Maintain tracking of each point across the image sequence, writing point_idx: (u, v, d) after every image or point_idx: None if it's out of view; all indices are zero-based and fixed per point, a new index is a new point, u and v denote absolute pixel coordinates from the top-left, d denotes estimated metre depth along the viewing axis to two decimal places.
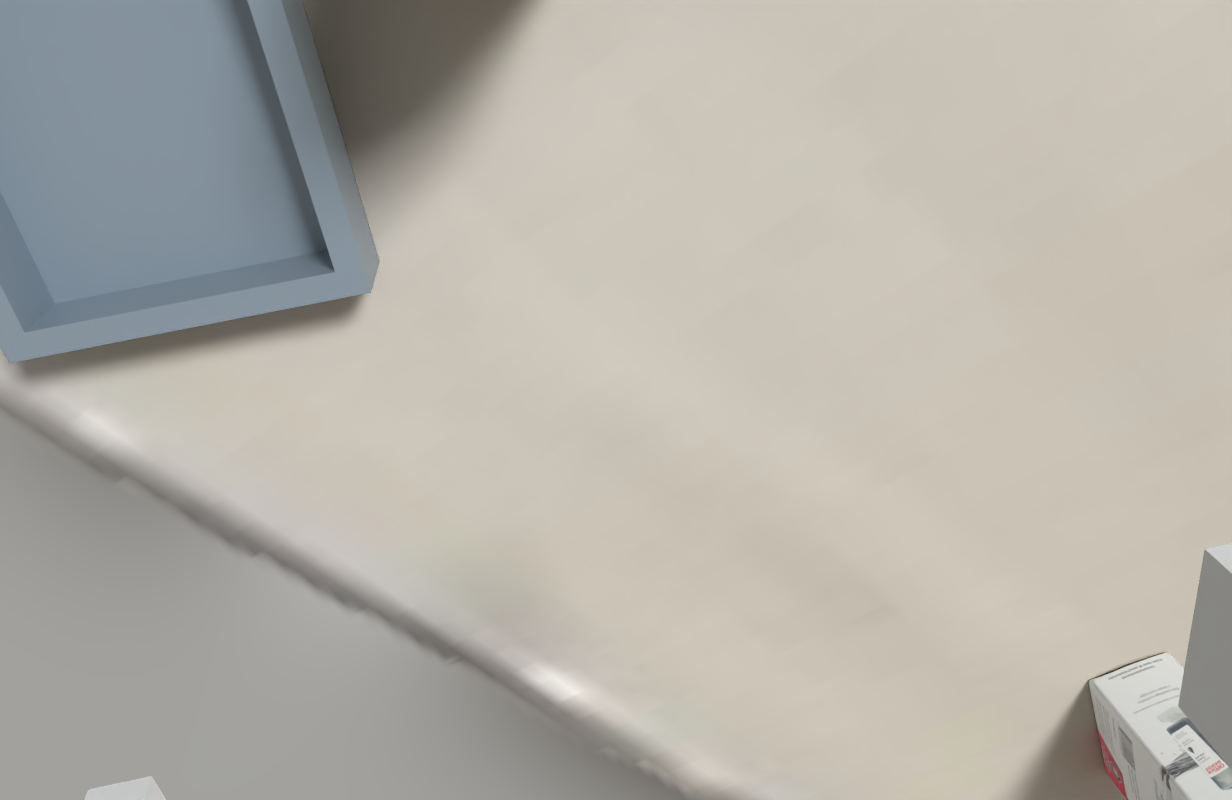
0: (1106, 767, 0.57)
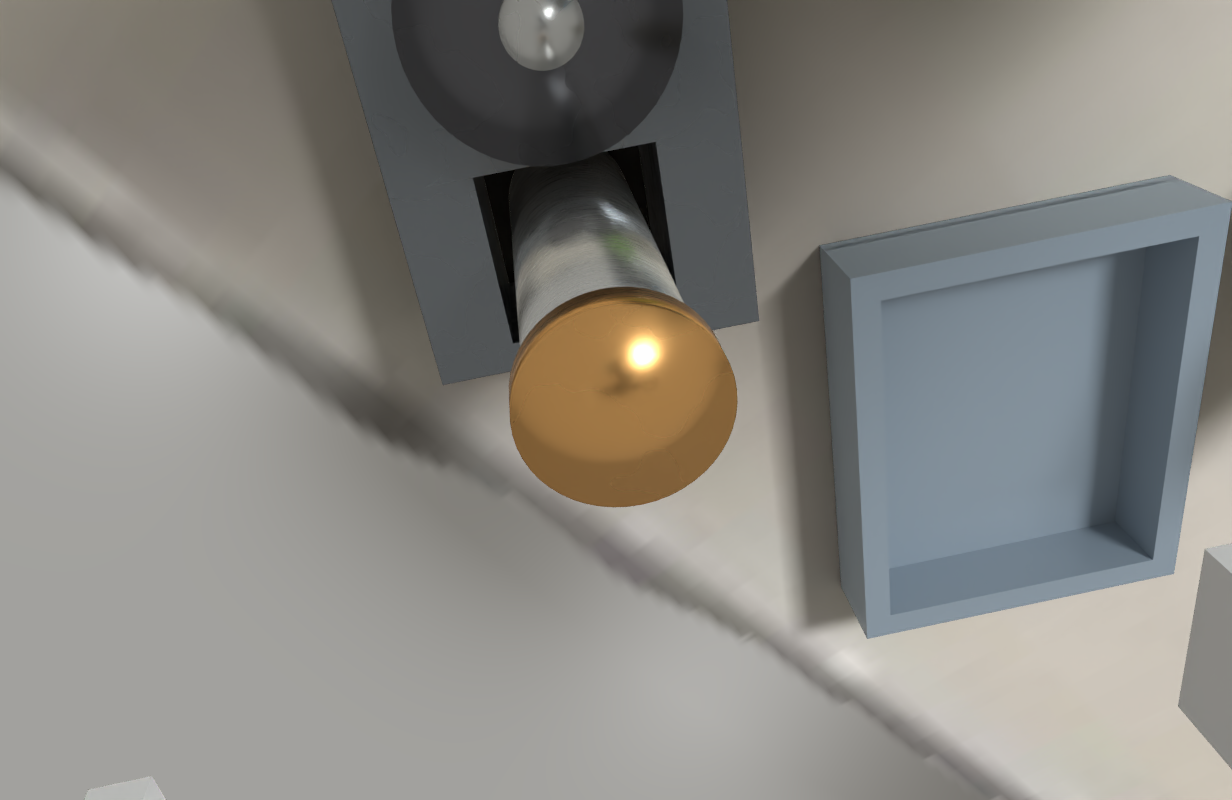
0: None
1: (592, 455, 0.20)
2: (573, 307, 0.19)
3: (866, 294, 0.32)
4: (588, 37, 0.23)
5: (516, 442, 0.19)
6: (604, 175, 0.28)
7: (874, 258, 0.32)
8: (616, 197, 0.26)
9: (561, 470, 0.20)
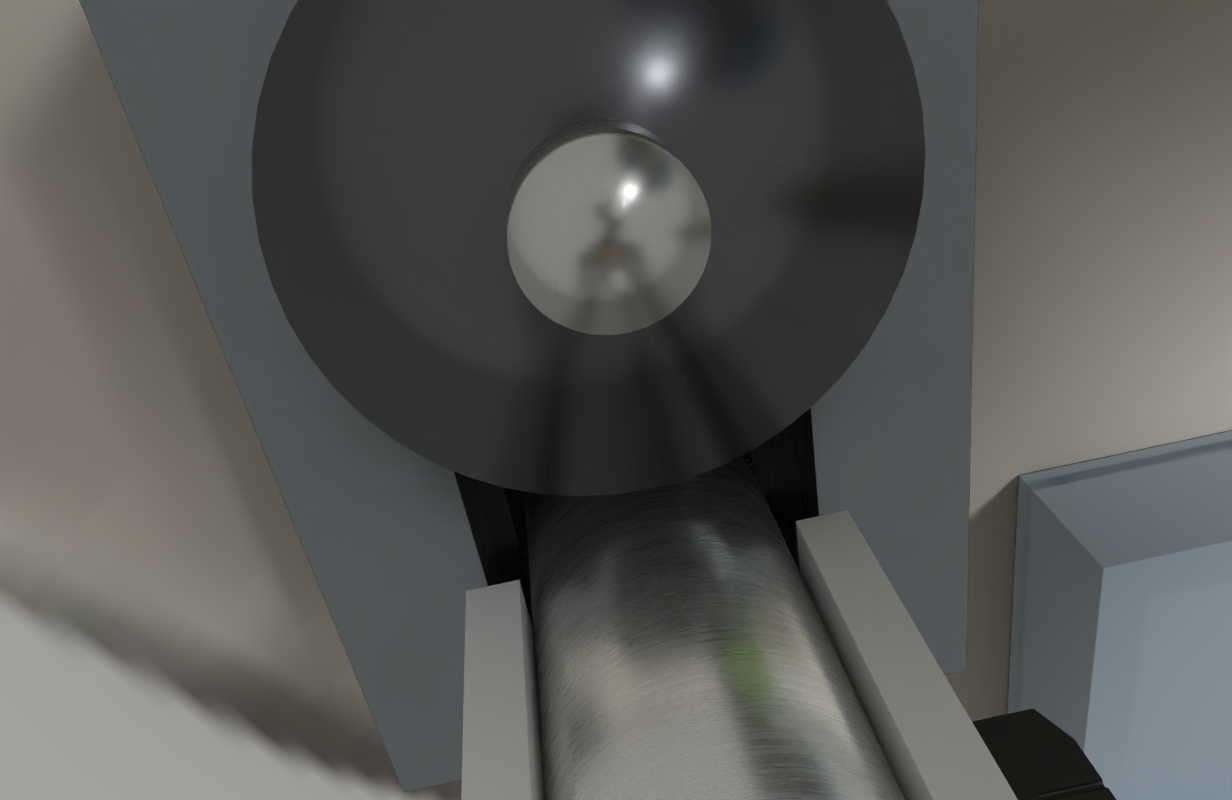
0: None
1: None
2: None
3: (1127, 589, 0.19)
4: (709, 246, 0.10)
5: None
6: None
7: (1129, 517, 0.19)
8: (739, 521, 0.13)
9: None
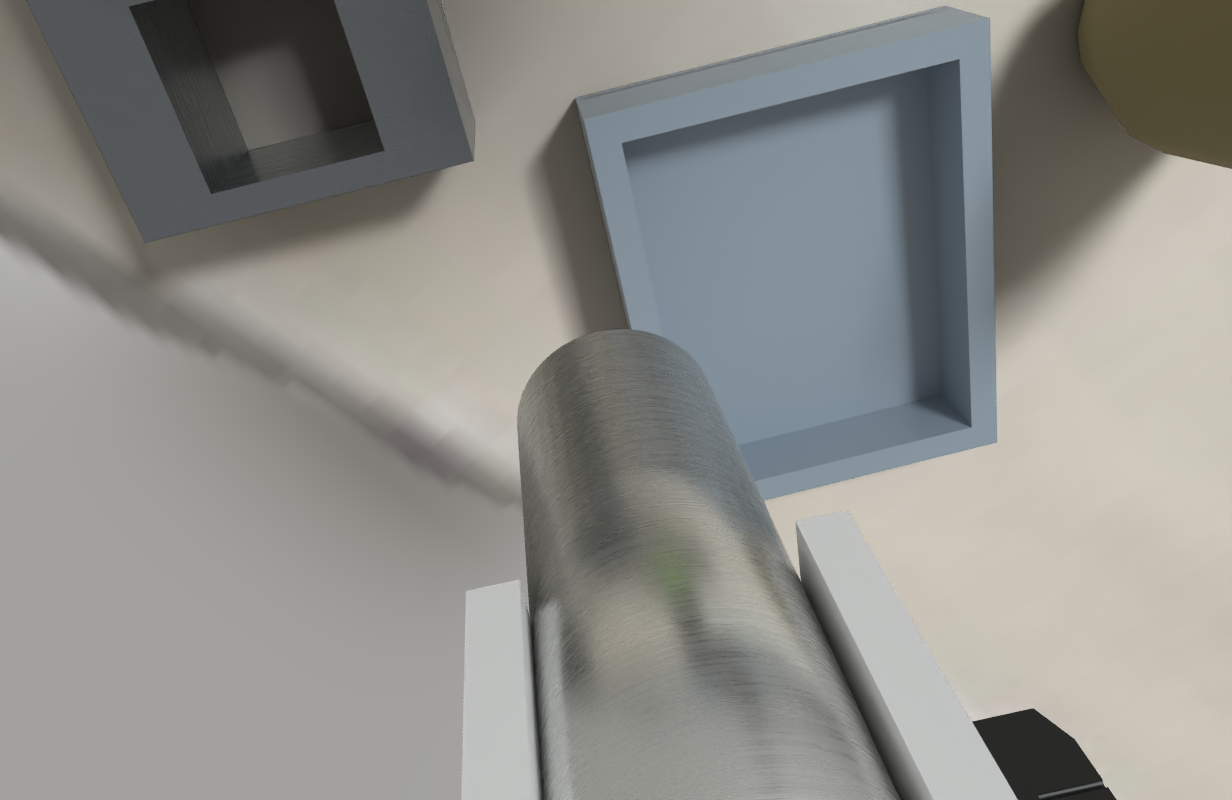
0: None
1: None
2: None
3: (605, 137, 0.30)
4: None
5: None
6: (699, 442, 0.15)
7: (618, 101, 0.31)
8: (736, 522, 0.13)
9: None
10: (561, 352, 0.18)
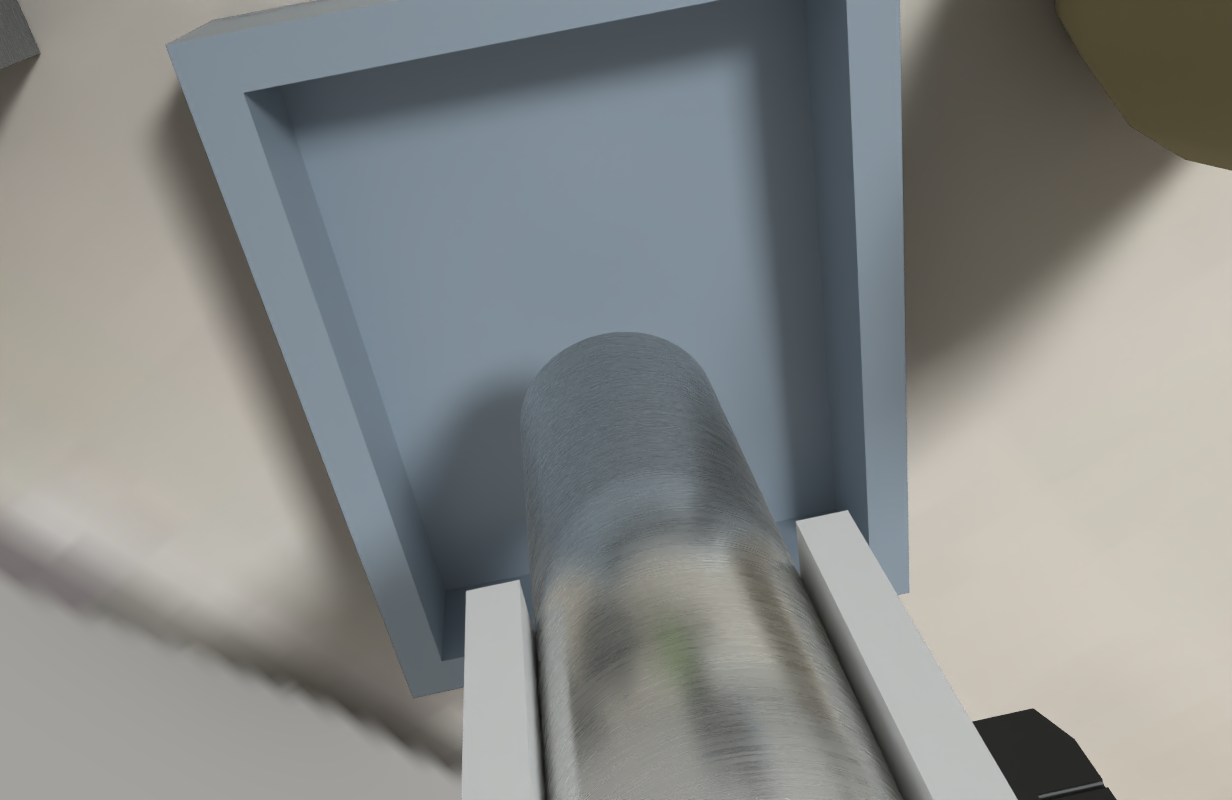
0: None
1: None
2: None
3: (211, 80, 0.17)
4: None
5: None
6: (702, 445, 0.15)
7: (252, 21, 0.18)
8: (740, 525, 0.13)
9: None
10: (564, 355, 0.18)
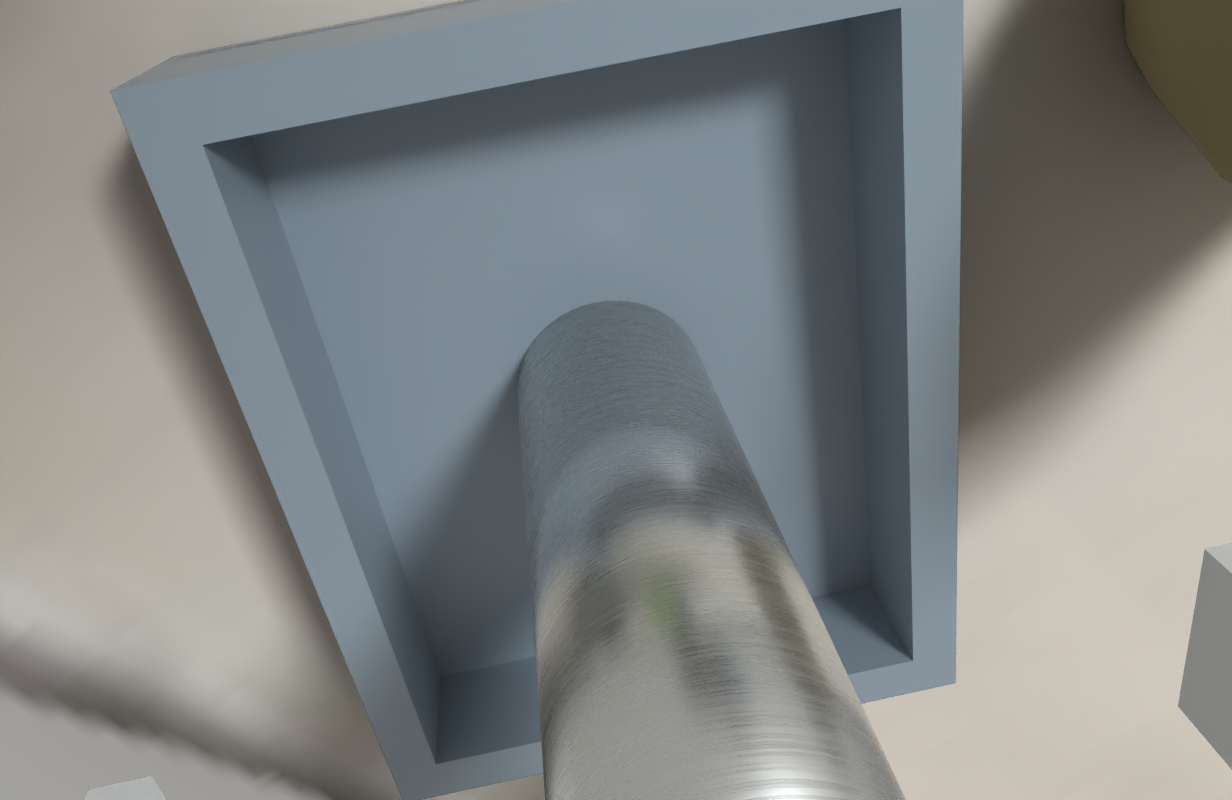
0: None
1: None
2: None
3: (164, 130, 0.14)
4: None
5: None
6: (685, 399, 0.16)
7: (215, 61, 0.15)
8: (718, 467, 0.14)
9: None
10: (558, 322, 0.19)
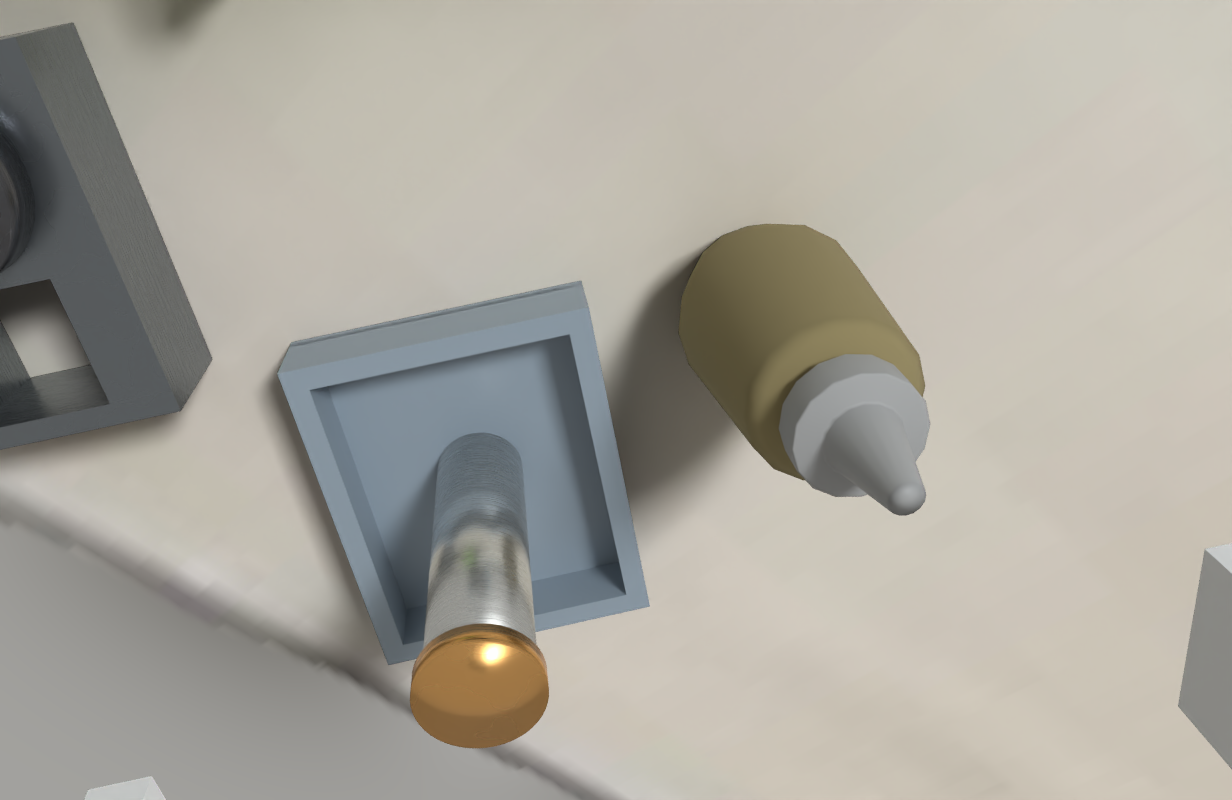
0: None
1: (462, 721, 0.32)
2: (446, 640, 0.31)
3: (295, 385, 0.39)
4: None
5: (415, 716, 0.32)
6: (495, 480, 0.41)
7: (312, 355, 0.40)
8: (498, 507, 0.39)
9: (443, 729, 0.32)
10: (454, 442, 0.44)
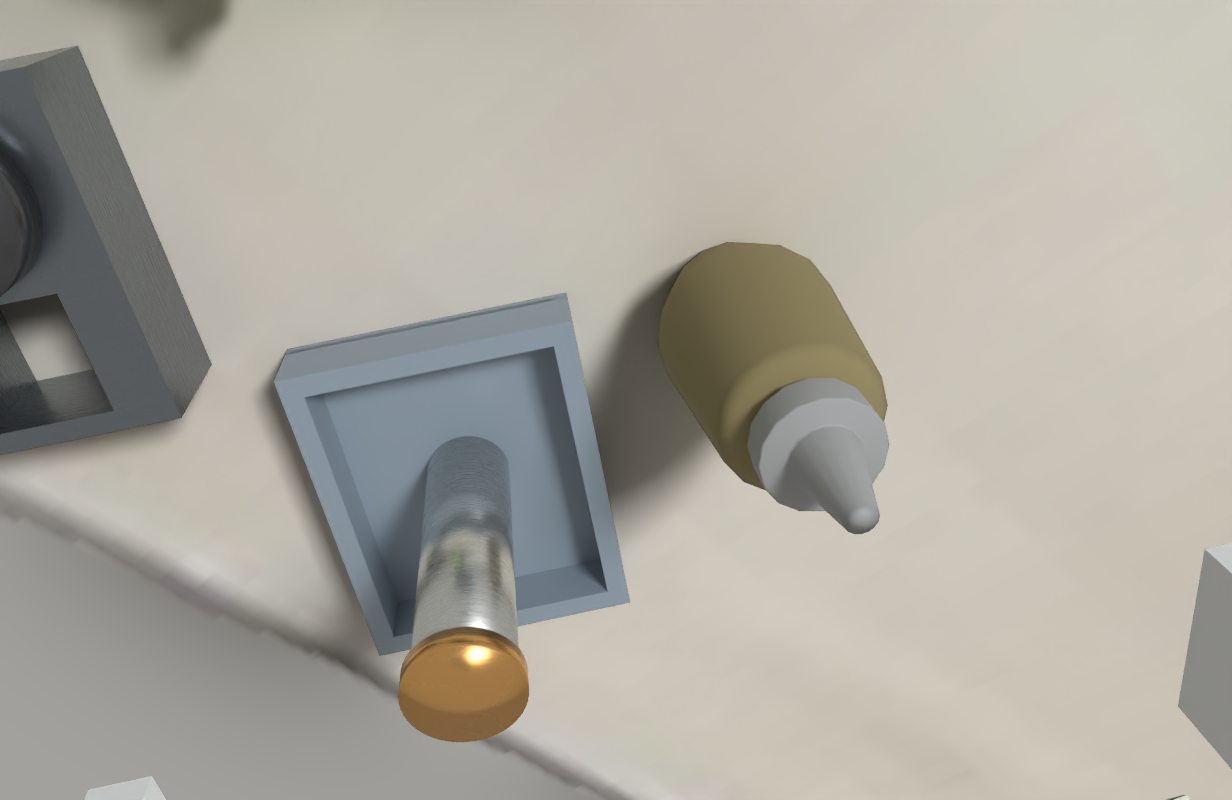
0: None
1: (447, 717, 0.34)
2: (432, 642, 0.33)
3: (291, 393, 0.41)
4: None
5: (403, 712, 0.34)
6: (482, 484, 0.43)
7: (307, 363, 0.42)
8: (485, 511, 0.41)
9: (430, 725, 0.35)
10: (443, 445, 0.46)
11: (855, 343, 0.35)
